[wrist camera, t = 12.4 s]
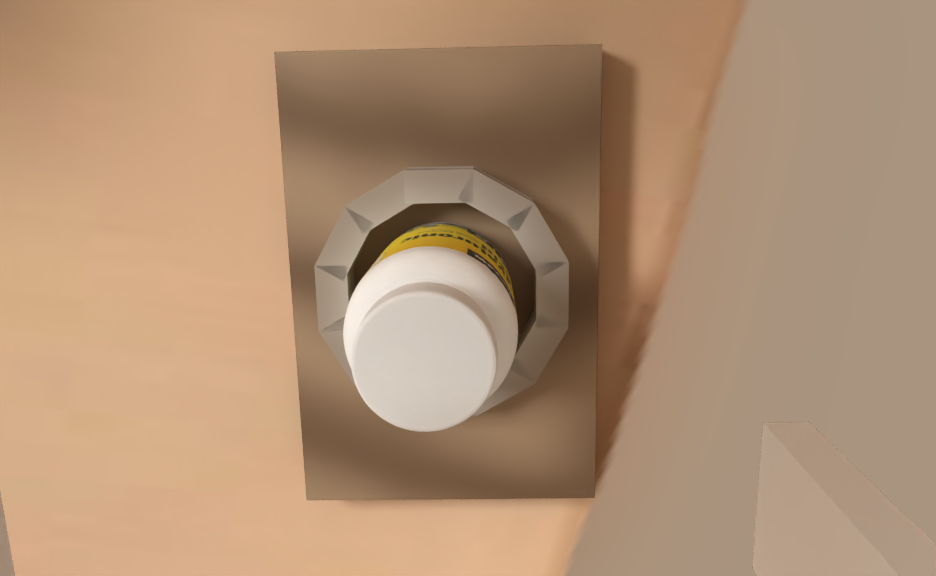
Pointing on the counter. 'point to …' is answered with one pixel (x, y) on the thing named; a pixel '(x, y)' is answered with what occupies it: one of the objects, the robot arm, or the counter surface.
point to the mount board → (460, 202)
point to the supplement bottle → (432, 327)
